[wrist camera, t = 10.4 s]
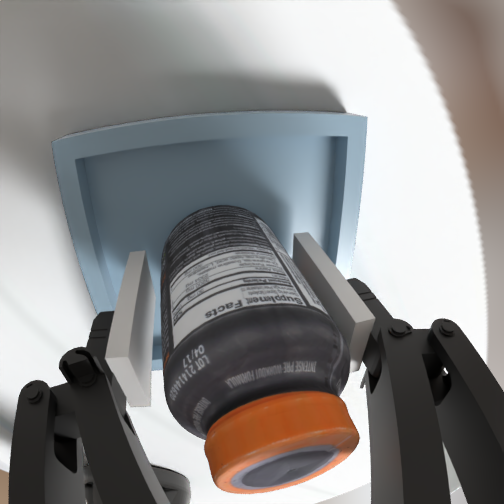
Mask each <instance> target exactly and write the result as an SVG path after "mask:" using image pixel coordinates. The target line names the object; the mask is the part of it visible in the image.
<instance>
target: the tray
mask: <svg viewBox="0 0 504 504" xmlns="http://www.w3.org/2000/svg"><path fill="white" fill-rule="evenodd" d="M366 133H367V117H366V116H361V115H356V114H351V113H344V112H326V111H293V110H269V111H236V112H218V113H204V114H193V115H183V116H173V117H165V118H157V119H150V120H143V121H136V122H130V123H124V124H118V125H112V126H107V127H102V128H97V129H92V130H87V131H83V132H78V133H74V134H70V135H66V136H64V137H61V138H59V139H57V140H54V141H52V149H53V155H54V161H55V167H56V172H57V178H58V183H59V187H60V192H61V197H62V201H63V206H64V210H65V214H66V218H67V222H68V226H69V230H70V233H71V237H72V240H73V244H74V247H75V251H76V254H77V257H78V261H79V264H80V267H81V270H82V273H83V276H84V279H85V282H86V285H87V288H88V291H89V294H90V296H91V299H92V302H93V305H94V307H95V310H96V312H97V315H98V314H99V313H100V312H104V311H115V307H116V303H117V299H118V295H119V291H120V287H121V283H122V279H123V276H124V272H125V268H126V264H127V261H128V257H129V254H130V252H135V251H143V250H145V251H146V256H147V260H148V265H149V270H150V274H151V279H152V283H153V287H154V292H155V296H156V302H155V315H154V329H153V347H152V370H151V371H154V370H163V361H162V340H161V308H160V302H161V293H160V277H161V258H162V253H163V248H164V245H165V241H166V240H167V238H168V236H169V235H170V233H171V231H172V230H173V229H174V227H175V226H176V225H177V224H178V223H179V222H180V221H181V220H183V219H184V218H185V217H187V216H188V215H190V214H192V213H193V212H195V211H197V210H199V209H202V208H207V207H211V206H217V205H231V206H237V207H241V208H245V209H247V210H249V211H251V212H253V213H255V214H256V215H258V216H259V217H260V218H262V219H263V221H264V222H265V223H266V224H267V225H268V226H269V227H270V228H271V230H272V231H273V233H274V234H275V236H276V237H277V239H278V240H279V241H280V243H281V244H282V246H283V247H284V249H285V250H286V251H287V253H288V254H289V256H290V257H291V259H292V255H293V234H294V233H304V232H309V234H310V235H311V236H312V237H313V239H314V240H315V241H316V242H317V243H318V245H319V246H320V247H321V248H322V250H323V251H324V252H325V253H326V255H327V256H328V257H329V258H330V260H331V261H332V262H333V263H334V265H335V266H336V267H337V268H338V270H339V271H340V272H341V274H342V275H343V276H344V277H345V279H346V280H347V279H349V277H350V271H351V266H352V259H353V253H354V247H355V240H356V233H357V226H358V218H359V210H360V201H361V193H362V183H363V173H364V161H365V148H366Z"/></svg>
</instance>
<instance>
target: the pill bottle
mask: <svg viewBox="0 0 504 504" xmlns="http://www.w3.org/2000/svg"><path fill="white" fill-rule="evenodd" d="M160 293H161V302H160V308H161V340H162V361H163V376H164V391H165V397H166V401H167V405H168V407H169V410H170V412H171V413H172V415H173V417H174V418H175V419H176V420H177V422H178V423H179V424H180V425H181V426H182V427H183V428H184V429H186V430H187V431H188V432H190V433H192V434H193V435H195V436H197V437H199V438H202V439H204V440H206V441H205V445H204V450H205V455H206V457H207V459H208V462H209V467H210V471H211V475H212V478H213V481H214V483H215V485H216V486H217V487H218V488H220V489H221V490H223V491H226V492H230V493H237V494H254V493H264V492H270V491H274V490H279V489H283V488H287V487H290V486H293V485H297V484H300V483H302V482H305V481H308V480H310V479H312V478H314V477H317V476H319V475H321V474H323V473H324V472H326V471H328V470H330V469H332V468H333V467H335V466H336V465H338V464H339V463H341V462H342V461H343V460H345V459H346V458H347V457H348V456H349V455H350V454H351V453H352V452H353V451H354V450H355V448H356V447H357V445H358V443H359V439H360V437H359V433H358V431H357V429H356V427H355V425H354V423H353V421H352V419H351V417H350V416H349V413H348V410H347V407H346V404H345V403H344V401H343V400H342V399H341V398H340V397H339V396H340V394H341V393H342V391H343V390H344V387H345V385H346V383H347V381H348V377H349V373H350V362H351V356H350V352H349V347H348V344H347V342H346V340H345V338H344V336H343V335H342V333H341V332H340V330H339V329H338V327H337V325H336V324H335V322H334V320H333V318H332V316H331V315H330V314H329V312H328V310H327V309H326V308H325V306H324V305H323V303H322V302H321V301H320V299H319V297H318V296H317V295H316V293H315V292H314V290H313V289H312V287H311V286H310V284H309V283H308V281H307V280H306V279H305V277H304V276H303V274H302V273H301V271H300V270H299V269H298V267H297V266H296V264H295V263H294V261H293V260H292V259H291V257H290V256H289V254H288V253H287V251H286V250H285V249H284V247H283V246H282V244H281V243H280V241H279V240H278V239H277V237H276V236H275V234H274V233H273V231H272V230H271V228H270V227H269V226H268V225H267V224H266V223H265V222H264V221H263V219H262V218H260V217H259V216H258V215H256V214H255V213H253V212H251V211H249V210H247V209H245V208H241V207H237V206H231V205H217V206H211V207H207V208H202V209H199V210H197V211H195V212H193V213H192V214H190V215H188V216H187V217H185V218H184V219H183V220H181V221H180V222H179V223H178V224H177V225H176V226H175V227H174V229H173V230H172V231H171V233H170V235H169V236H168V238H167V240H166V241H165V245H164V248H163V253H162V258H161V277H160Z"/></svg>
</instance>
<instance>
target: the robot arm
mask: <svg viewBox="0 0 504 504" xmlns="http://www.w3.org/2000/svg"><path fill="white" fill-rule="evenodd" d="M292 260H293V261H294V263H295V264H296V266H297V267H298V269H299V270H300V271H301V273H302V274H303V276H304V277H305V279H306V280H307V281H308V283H309V284H310V286H311V287H312V289H313V290H314V292H315V293H316V295H317V296H318V297H319V299H320V301H321V302H322V303H323V305H324V306H325V308H326V309H327V310H328V312H329V314H330V315H331V316H332V318H333V320H334V322H335V324H336V325H337V327H338V329H339V330H340V332H341V333H342V335H343V336H344V338H345V340H346V342H347V344H348V347H349V352H350V356H351V362H350V373H351V372H355V371H358V370H359V369H360V366H361V363H362V361H363V362H364V364H365V366H366V367H367V369H366V372H365V374H364V377H363V379H362V382H361V386H360V388H363V387H364V384H365V385H366V395H367V406H368V419H369V435H370V456H371V504H451V499H450V489H449V481H448V473H447V466H446V460H445V454H444V448H443V444H444V446H445V448H446V451H447V453H448V455H449V458H450V460H451V462H452V465H453V467H454V469H455V472H456V474H457V477H458V479H459V482H460V484H461V487H462V489H463V492H464V494H465V497H466V500H467V503H468V504H504V392H503V390H502V388H501V387H500V385H499V384H498V382H497V381H496V379H495V377H494V376H493V374H492V373H491V371H490V370H489V368H488V367H487V365H486V364H485V362H484V361H483V359H482V358H481V357H480V355H479V354H478V352H477V351H476V349H475V348H474V347H473V345H472V344H471V342H470V341H469V340H468V338H467V337H466V335H465V334H464V333H463V331H462V330H461V329H460V327H459V326H458V325H457V324H456V323H454V322H453V321H451V320H448V319H437V320H435V321H434V322H433V323H432V325H431V328H430V329H413V328H412V326H411V325H410V324H408V323H407V322H405V321H403V320H400V319H393V317H392V316H391V315H390V314H389V312H388V311H387V310H386V309H385V307H384V306H383V305H382V304H381V302H380V301H379V300H378V299H376V296H375V295H374V294H373V293H371V290H370V289H369V288H368V287H367V285H366V284H365V283H363V282H361V281H360V280H358V279H356V278H353V279H347V280H346V279H345V277H344V276H343V275H342V274H341V272H340V271H339V270H338V268H337V267H336V266H335V265H334V263H333V262H332V261H331V260H330V258H329V257H328V256H327V255H326V253H325V252H324V251H323V250H322V248H321V247H320V246H319V245H318V243H317V242H316V241H315V240H314V239H313V237H312V236H311V235H310V234H309V232H304V233H294V234H293V255H292ZM155 302H156V296H155V292H154V287H153V283H152V279H151V274H150V270H149V265H148V260H147V256H146V251H145V250H143V251H135V252H130V254H129V257H128V261H127V264H126V268H125V272H124V276H123V279H122V283H121V287H120V291H119V295H118V299H117V303H116V307H115V311H104V312H100V313H99V314H98V315H97V317H96V318H95V319H94V320H93V324H92V327H91V332H90V335H89V339H88V342H87V346H86V347H78V348H74V349H72V350H70V351H68V352H67V353H66V354H64V355H63V356H62V358H61V360H60V362H59V369H60V371H61V372H62V374H63V375H64V377H65V379H66V380H67V383H64V384H61V385H58V386H54V387H51V388H50V387H49V386H48V385H47V383H45V382H44V381H40V380H35V381H31V382H29V383H28V384H26V385H25V386H24V387H23V389H22V390H21V392H20V395H19V399H18V404H17V410H16V416H15V423H14V430H13V438H12V446H11V457H10V470H9V504H86V502H87V504H189V503H190V499H191V490H190V482H189V480H188V479H187V478H186V477H184V476H182V475H180V474H178V473H175V472H172V471H169V470H165V469H161V468H156V467H151V465H150V463H149V461H148V458H147V456H146V454H145V452H144V450H143V447H142V445H141V443H140V441H139V438H138V436H137V434H136V431H135V429H134V426H133V424H132V421H131V419H130V416H129V415H128V413H127V411H126V400H127V401H128V403H129V405H130V407H148V406H151V370H152V347H153V329H154V315H155ZM444 368H446V370H447V371H448V374H446V373H445V371H444V370H443V369H444ZM83 446H84V450H85V453H86V457H87V460H88V463H89V465H87V466H85V467H84V468H83Z"/></svg>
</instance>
